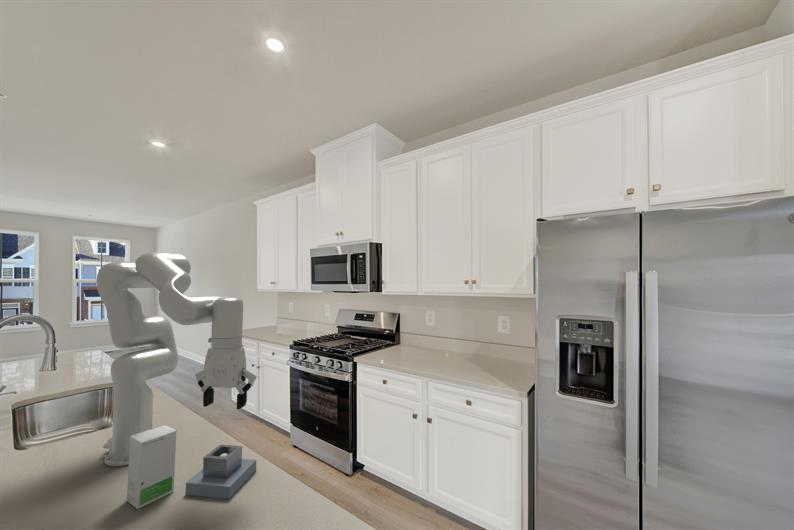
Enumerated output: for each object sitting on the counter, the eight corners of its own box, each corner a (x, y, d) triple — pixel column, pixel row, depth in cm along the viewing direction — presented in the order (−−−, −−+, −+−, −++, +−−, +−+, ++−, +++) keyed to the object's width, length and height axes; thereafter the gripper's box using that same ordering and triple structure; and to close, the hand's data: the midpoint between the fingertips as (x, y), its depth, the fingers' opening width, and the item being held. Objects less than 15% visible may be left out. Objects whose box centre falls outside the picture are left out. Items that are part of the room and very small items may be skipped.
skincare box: (136, 511, 76) (138, 443, 76) (124, 500, 79) (127, 436, 80) (175, 491, 83) (177, 429, 84) (163, 482, 87) (165, 423, 87)
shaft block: (185, 494, 82) (186, 464, 82) (217, 467, 94) (218, 441, 94) (229, 499, 80) (230, 468, 80) (256, 470, 92) (256, 444, 92)
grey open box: (202, 476, 84) (203, 457, 84) (219, 462, 91) (220, 444, 91) (226, 479, 83) (226, 459, 84) (241, 464, 90) (242, 446, 90)
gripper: (187, 344, 86) (185, 409, 85) (248, 347, 84) (246, 414, 83) (207, 339, 93) (205, 398, 93) (263, 341, 91) (262, 402, 90)
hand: (224, 406), depth 88 cm, fingers open, 9 cm apart
